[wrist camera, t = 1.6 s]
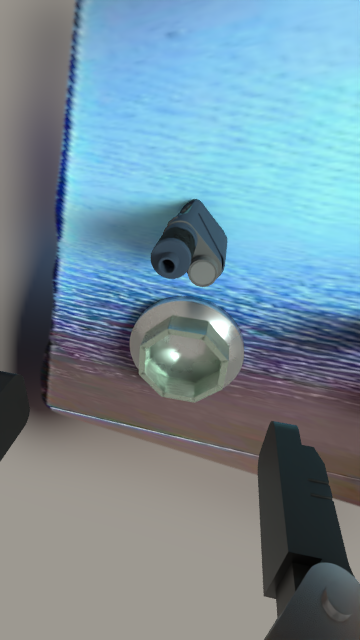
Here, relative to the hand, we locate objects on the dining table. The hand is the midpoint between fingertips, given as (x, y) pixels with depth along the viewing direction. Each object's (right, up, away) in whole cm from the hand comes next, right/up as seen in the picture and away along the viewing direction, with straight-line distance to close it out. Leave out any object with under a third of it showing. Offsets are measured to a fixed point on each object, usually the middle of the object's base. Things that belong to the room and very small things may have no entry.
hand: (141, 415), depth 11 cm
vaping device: (+3, +11, +19) cm, 22 cm away
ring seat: (+2, 0, +25) cm, 25 cm away
